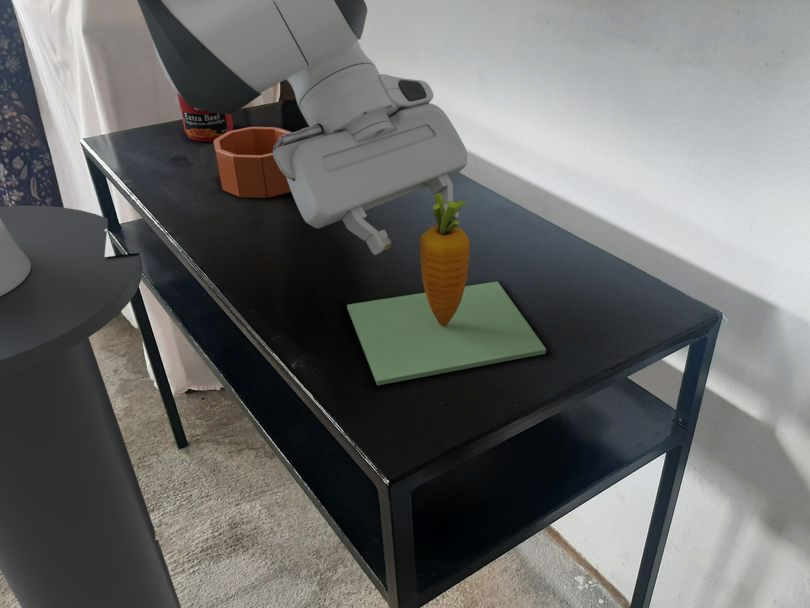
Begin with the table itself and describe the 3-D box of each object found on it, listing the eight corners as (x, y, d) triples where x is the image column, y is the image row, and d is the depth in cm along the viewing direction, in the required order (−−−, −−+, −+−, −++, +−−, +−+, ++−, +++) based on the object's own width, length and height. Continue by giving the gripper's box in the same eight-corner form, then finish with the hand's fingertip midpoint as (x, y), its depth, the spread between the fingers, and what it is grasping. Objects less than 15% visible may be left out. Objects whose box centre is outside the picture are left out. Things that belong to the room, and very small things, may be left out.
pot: (224, 202, 101) (217, 161, 98) (218, 168, 110) (211, 129, 107) (308, 193, 105) (304, 153, 101) (295, 161, 114) (291, 123, 110)
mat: (377, 385, 71) (376, 381, 70) (347, 309, 81) (347, 304, 81) (545, 353, 76) (546, 349, 75) (497, 285, 86) (497, 281, 86)
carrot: (422, 311, 80) (422, 184, 71) (467, 313, 80) (472, 186, 71) (418, 337, 76) (417, 206, 67) (465, 340, 76) (470, 209, 67)
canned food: (181, 142, 118) (166, 73, 111) (192, 125, 124) (179, 58, 118) (229, 143, 119) (218, 73, 112) (237, 125, 125) (227, 59, 118)
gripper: (275, 122, 65) (351, 258, 65) (439, 79, 77) (501, 194, 78) (254, 155, 70) (324, 281, 71) (411, 110, 82) (469, 218, 83)
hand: (418, 235), depth 74 cm, fingers open, 8 cm apart
